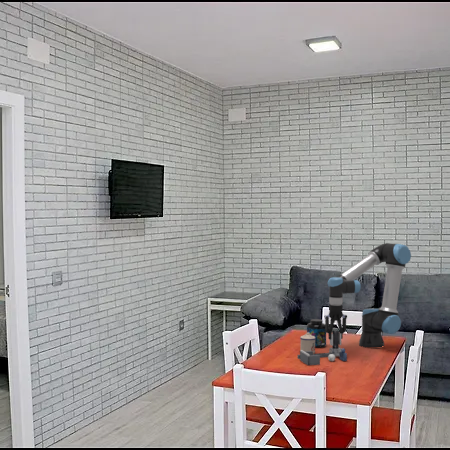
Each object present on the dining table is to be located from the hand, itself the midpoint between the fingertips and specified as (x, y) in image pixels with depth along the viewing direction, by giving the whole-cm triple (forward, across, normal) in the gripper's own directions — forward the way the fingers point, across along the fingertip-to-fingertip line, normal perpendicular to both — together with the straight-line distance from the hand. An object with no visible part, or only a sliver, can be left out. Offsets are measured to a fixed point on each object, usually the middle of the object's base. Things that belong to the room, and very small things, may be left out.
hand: (335, 344), depth 347 cm
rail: (+7, +10, 0) cm, 12 cm away
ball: (+5, +7, +10) cm, 13 cm away
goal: (+7, +20, +10) cm, 23 cm away
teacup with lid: (+7, +11, -14) cm, 19 cm away
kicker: (+6, 0, +5) cm, 8 cm away
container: (+7, 0, -27) cm, 28 cm away
